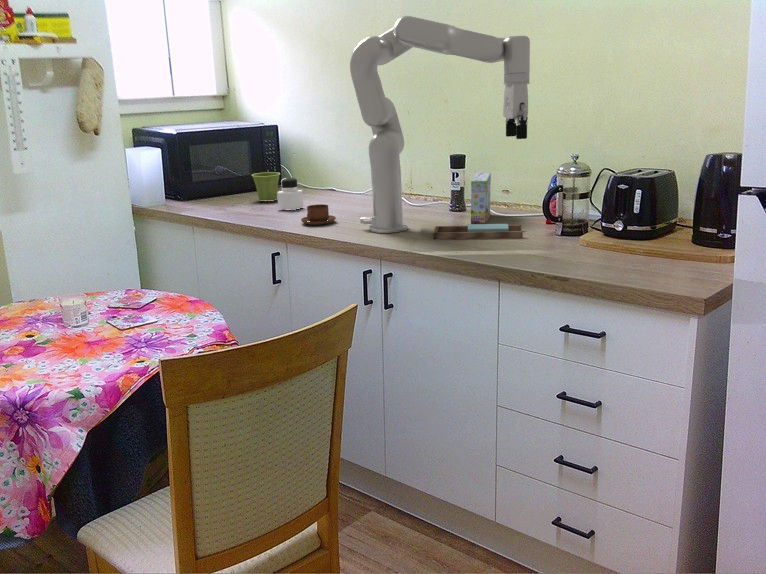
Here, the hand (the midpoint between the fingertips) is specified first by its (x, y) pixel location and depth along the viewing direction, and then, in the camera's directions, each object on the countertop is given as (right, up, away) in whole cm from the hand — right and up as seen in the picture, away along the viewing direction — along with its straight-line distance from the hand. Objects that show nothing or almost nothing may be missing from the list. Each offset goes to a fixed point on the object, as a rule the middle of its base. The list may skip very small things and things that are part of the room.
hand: (516, 137), depth 227 cm
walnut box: (-12, -31, -2) cm, 33 cm away
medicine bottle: (-76, -16, +61) cm, 99 cm away
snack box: (-8, -24, +23) cm, 34 cm away
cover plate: (-9, -30, -3) cm, 31 cm away
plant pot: (-89, -10, +83) cm, 122 cm away
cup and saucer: (-63, -24, +32) cm, 74 cm away
